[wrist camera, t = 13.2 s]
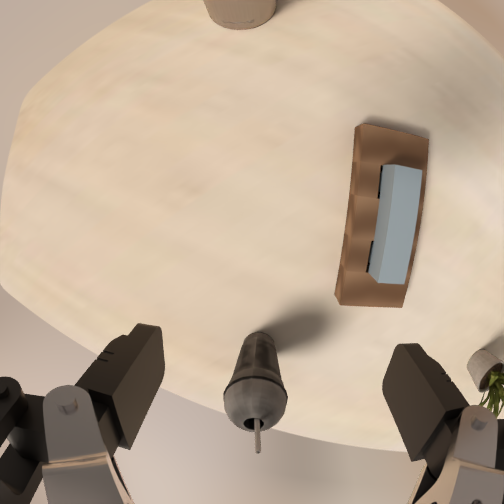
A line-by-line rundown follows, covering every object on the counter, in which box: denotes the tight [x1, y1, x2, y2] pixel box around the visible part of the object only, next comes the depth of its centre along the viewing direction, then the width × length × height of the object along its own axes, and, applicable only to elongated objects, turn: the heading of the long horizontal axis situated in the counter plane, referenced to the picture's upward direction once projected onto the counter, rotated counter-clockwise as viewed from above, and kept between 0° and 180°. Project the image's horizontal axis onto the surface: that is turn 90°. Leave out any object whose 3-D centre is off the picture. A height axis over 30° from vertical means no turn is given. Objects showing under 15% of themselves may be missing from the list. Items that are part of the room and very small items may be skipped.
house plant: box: [467, 350, 504, 419], centre depth 33 cm, size 14×14×16 cm
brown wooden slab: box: [335, 123, 429, 308], centre depth 33 cm, size 22×9×4 cm, turn 176°
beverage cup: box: [224, 332, 288, 454], centre depth 31 cm, size 7×7×20 cm
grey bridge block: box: [368, 165, 422, 284], centre depth 32 cm, size 13×4×6 cm, turn 176°
